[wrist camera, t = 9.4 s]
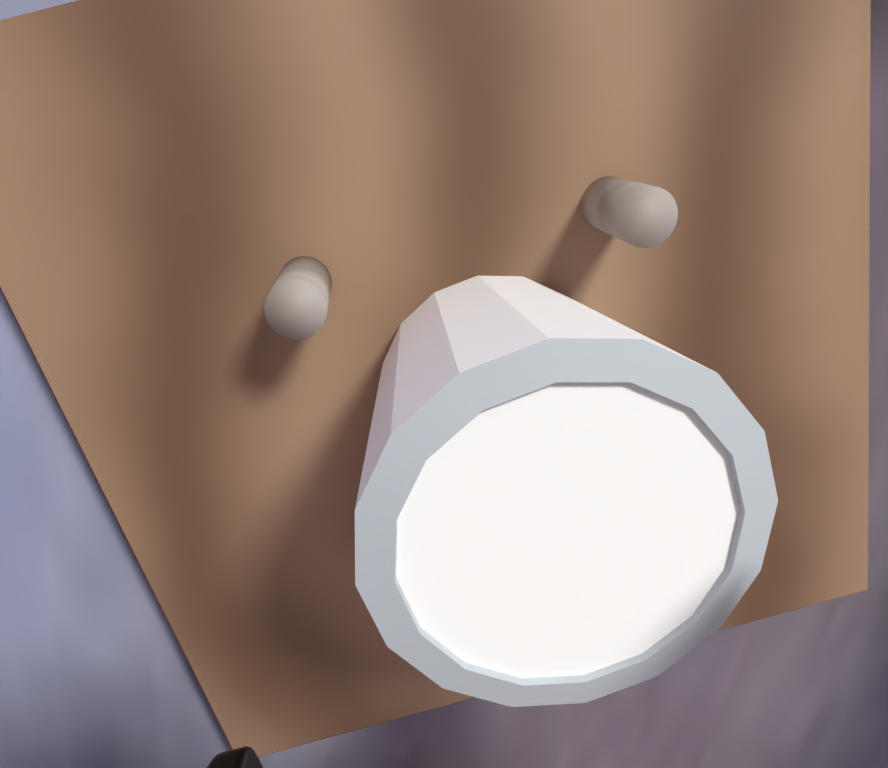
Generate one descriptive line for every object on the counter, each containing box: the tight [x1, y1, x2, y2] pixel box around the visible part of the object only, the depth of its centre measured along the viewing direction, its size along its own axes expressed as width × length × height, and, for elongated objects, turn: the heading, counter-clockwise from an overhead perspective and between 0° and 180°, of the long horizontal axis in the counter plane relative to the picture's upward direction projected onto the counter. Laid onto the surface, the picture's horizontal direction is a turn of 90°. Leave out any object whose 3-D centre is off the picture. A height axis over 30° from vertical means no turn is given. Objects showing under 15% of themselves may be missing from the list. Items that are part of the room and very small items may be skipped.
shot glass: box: [355, 276, 778, 707], centre depth 14 cm, size 7×7×7 cm
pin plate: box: [0, 0, 871, 757], centre depth 16 cm, size 20×20×4 cm
